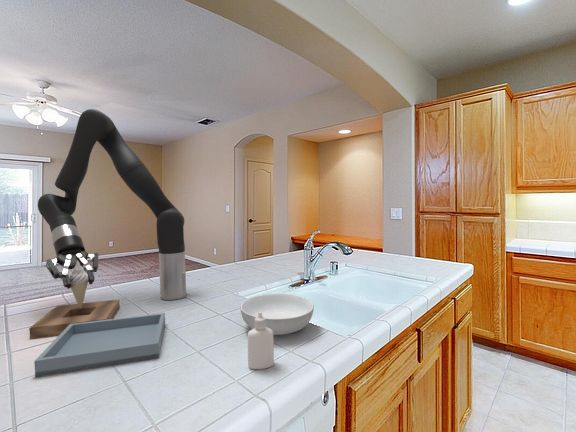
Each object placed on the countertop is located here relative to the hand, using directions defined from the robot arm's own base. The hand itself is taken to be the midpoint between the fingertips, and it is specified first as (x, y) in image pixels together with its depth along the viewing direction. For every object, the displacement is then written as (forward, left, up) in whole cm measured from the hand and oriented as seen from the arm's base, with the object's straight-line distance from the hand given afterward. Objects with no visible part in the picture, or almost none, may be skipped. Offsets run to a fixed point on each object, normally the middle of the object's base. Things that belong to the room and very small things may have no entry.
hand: (80, 284), depth 91 cm
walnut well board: (+1, -1, -12) cm, 12 cm away
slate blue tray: (-12, +20, -12) cm, 26 cm away
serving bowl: (-55, +23, -12) cm, 61 cm away
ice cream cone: (+1, -2, -8) cm, 8 cm away
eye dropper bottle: (-46, +41, -12) cm, 63 cm away
